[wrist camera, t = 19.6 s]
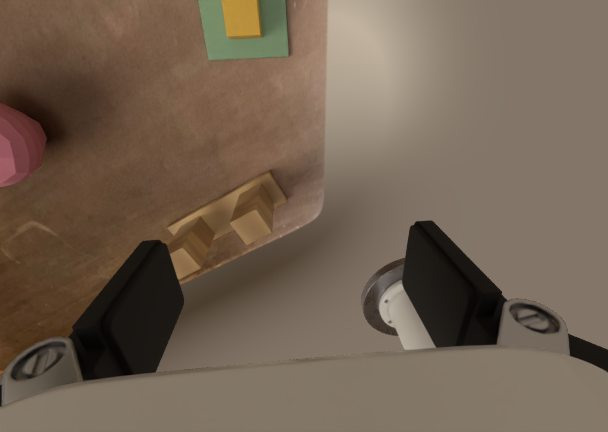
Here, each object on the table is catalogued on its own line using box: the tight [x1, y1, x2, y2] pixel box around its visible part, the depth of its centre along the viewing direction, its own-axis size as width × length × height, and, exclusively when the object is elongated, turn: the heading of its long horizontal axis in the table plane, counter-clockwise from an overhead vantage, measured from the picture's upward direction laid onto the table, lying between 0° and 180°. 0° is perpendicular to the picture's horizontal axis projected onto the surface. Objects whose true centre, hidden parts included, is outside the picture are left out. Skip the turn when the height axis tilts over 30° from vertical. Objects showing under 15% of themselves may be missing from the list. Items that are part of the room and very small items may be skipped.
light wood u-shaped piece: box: [167, 170, 288, 280], centre depth 37 cm, size 17×5×9 cm, turn 118°
